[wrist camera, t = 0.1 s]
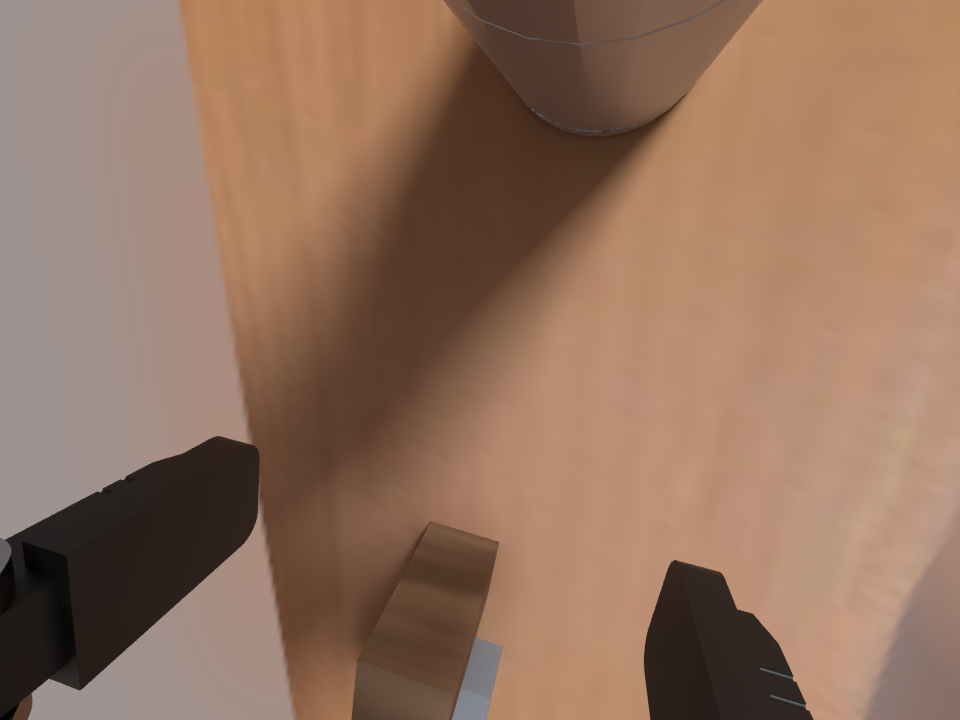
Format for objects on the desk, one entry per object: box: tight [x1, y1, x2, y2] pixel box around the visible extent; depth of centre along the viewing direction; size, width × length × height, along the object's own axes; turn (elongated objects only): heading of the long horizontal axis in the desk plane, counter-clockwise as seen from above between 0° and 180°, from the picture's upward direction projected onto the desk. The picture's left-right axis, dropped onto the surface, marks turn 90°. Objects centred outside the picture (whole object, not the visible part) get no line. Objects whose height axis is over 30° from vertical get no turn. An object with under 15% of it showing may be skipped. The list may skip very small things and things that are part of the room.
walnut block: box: [352, 522, 499, 720], centre depth 27 cm, size 4×4×10 cm
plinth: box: [452, 638, 503, 720], centre depth 33 cm, size 8×8×4 cm
